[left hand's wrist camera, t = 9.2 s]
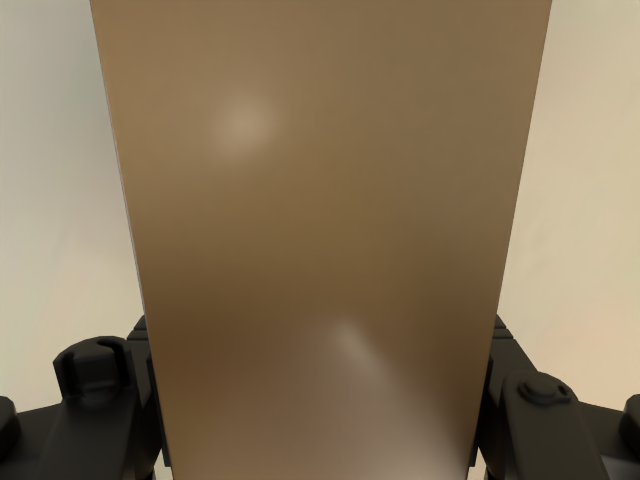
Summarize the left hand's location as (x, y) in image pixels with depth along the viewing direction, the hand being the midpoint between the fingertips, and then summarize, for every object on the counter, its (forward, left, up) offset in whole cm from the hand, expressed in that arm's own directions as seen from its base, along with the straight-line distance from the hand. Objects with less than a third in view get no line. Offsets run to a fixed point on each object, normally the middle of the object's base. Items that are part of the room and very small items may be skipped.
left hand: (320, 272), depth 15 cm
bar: (+25, -5, -1) cm, 26 cm away
